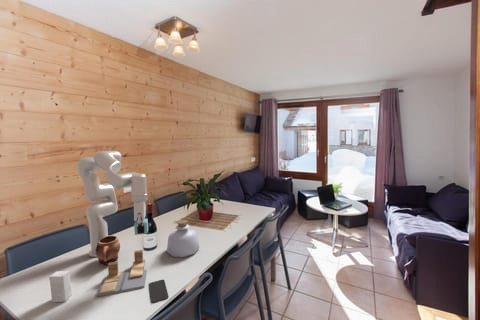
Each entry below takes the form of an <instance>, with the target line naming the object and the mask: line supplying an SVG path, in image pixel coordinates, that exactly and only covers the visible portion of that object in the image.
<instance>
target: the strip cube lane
mask: <svg viewBox="0 0 480 320" xmlns="http://www.w3.org/2000/svg"><path fill="white" fill-rule="evenodd" d="M143 251H144V250H143V249H139V250H134V253H133V254H134V261H133V262H132V265H131V270H130V272H131V273H130V277H129V279H130V278H135V277H141V276H143V270H145V264H146V260H145V259H144V255H143V253H144V252H143Z"/></svg>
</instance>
